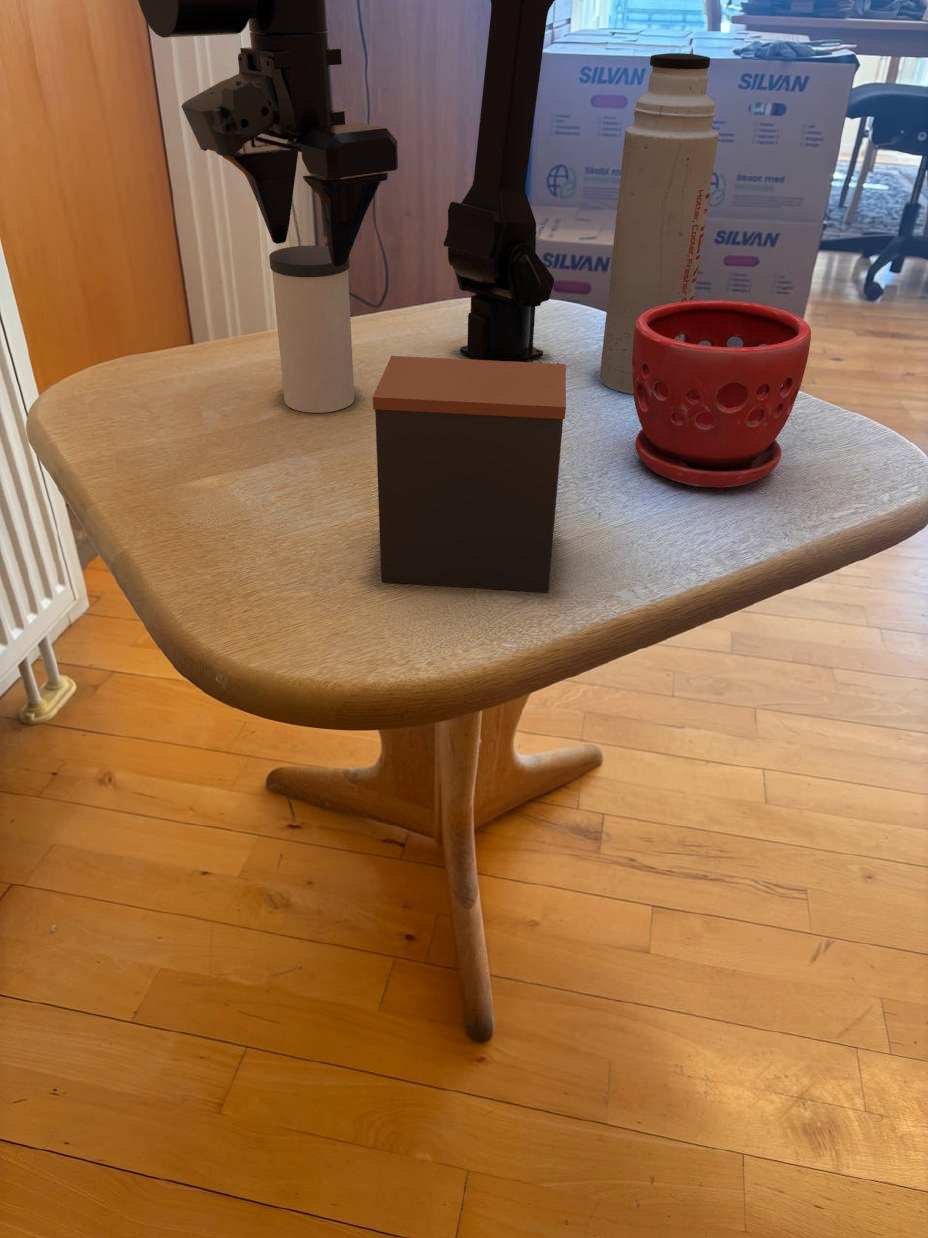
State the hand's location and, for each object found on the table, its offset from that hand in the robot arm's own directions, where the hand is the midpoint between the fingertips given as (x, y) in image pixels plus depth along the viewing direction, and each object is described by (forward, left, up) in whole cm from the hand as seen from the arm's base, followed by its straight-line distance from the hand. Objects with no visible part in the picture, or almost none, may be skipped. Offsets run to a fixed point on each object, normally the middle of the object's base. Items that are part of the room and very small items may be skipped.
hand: (308, 253), depth 78 cm
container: (-1, -2, -14) cm, 14 cm away
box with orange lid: (+3, +25, -14) cm, 28 cm away
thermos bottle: (-29, +13, -14) cm, 35 cm away
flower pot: (-18, +29, -14) cm, 37 cm away
